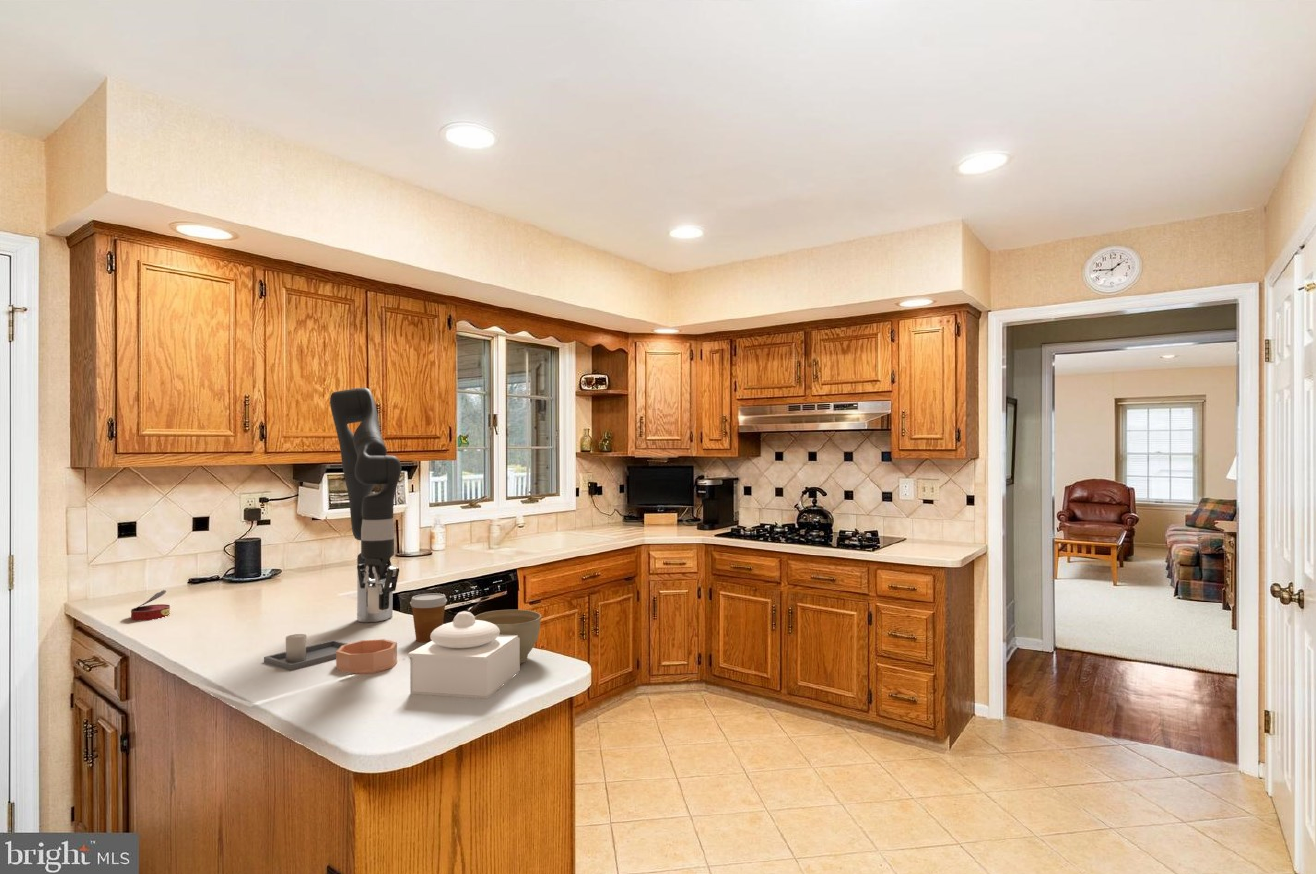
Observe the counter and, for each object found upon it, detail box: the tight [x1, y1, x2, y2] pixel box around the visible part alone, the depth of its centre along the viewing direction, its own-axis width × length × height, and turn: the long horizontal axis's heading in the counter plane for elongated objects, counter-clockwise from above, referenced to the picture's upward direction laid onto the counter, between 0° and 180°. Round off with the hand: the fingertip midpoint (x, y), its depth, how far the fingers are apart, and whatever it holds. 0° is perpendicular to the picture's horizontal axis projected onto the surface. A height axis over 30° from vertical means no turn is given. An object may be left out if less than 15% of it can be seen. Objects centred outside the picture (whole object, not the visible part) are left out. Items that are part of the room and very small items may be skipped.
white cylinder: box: [368, 585, 387, 614], centre depth 169 cm, size 4×4×6 cm
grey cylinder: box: [285, 633, 307, 664], centre depth 169 cm, size 4×4×6 cm
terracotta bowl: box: [335, 638, 398, 676], centre depth 167 cm, size 13×13×4 cm
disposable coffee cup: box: [409, 593, 448, 644], centre depth 188 cm, size 10×10×12 cm
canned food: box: [130, 589, 171, 622], centre depth 218 cm, size 11×10×10 cm
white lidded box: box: [407, 610, 521, 700], centre depth 154 cm, size 18×18×16 cm
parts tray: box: [263, 639, 349, 671], centre depth 172 cm, size 18×12×2 cm, turn 146°
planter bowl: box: [474, 609, 542, 665], centre depth 170 cm, size 16×16×11 cm
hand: (377, 607), depth 169 cm, fingers closed on white cylinder, 4 cm apart
